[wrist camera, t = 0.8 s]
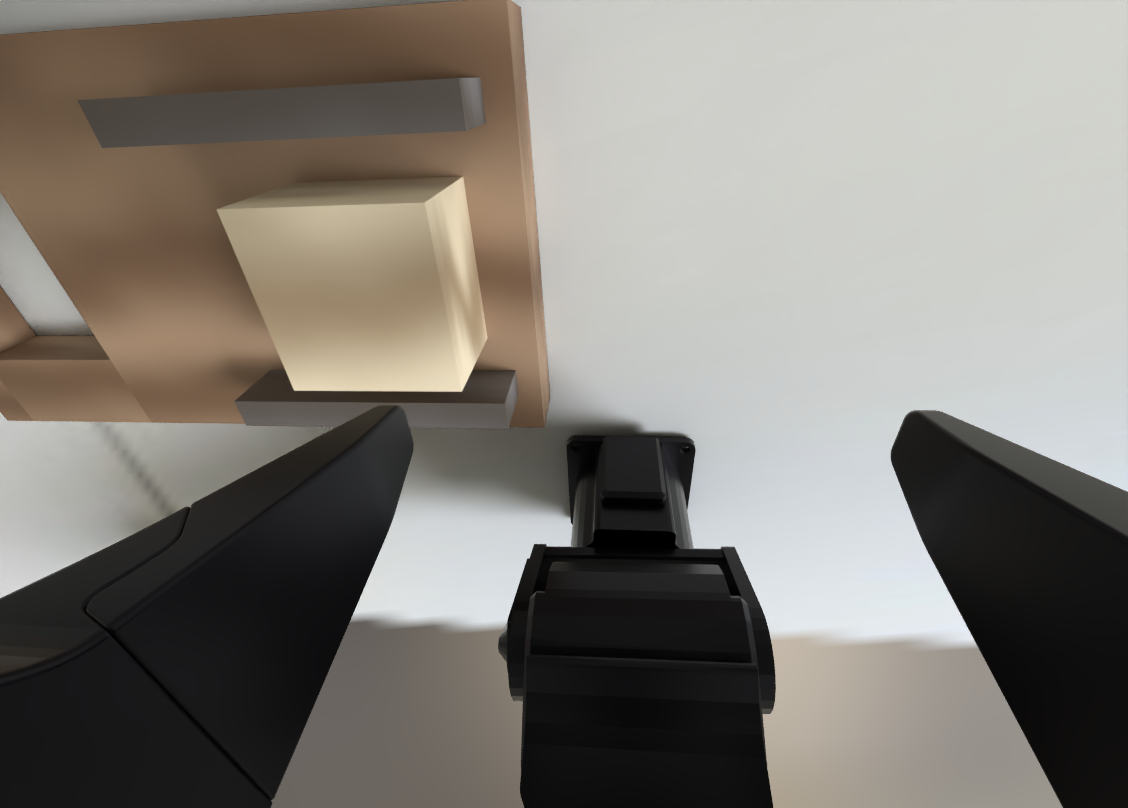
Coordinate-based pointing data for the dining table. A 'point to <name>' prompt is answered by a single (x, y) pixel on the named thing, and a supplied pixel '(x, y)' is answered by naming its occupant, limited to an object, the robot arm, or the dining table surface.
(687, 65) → the dining table surface
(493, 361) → the lane board
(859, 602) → the dining table surface
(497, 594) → the dining table surface
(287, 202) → the block
